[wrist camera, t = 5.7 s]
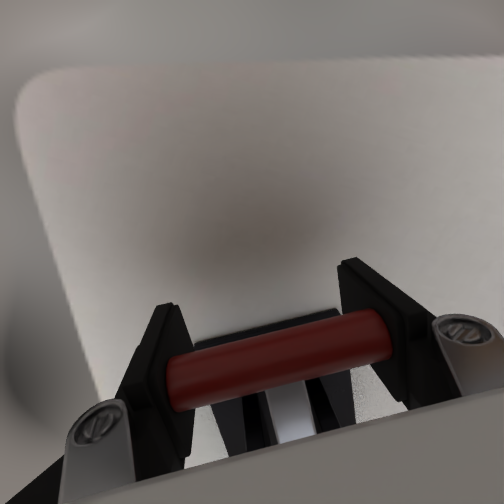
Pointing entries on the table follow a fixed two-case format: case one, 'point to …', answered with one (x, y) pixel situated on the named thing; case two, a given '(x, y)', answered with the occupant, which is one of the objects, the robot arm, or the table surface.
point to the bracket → (256, 405)
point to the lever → (279, 367)
